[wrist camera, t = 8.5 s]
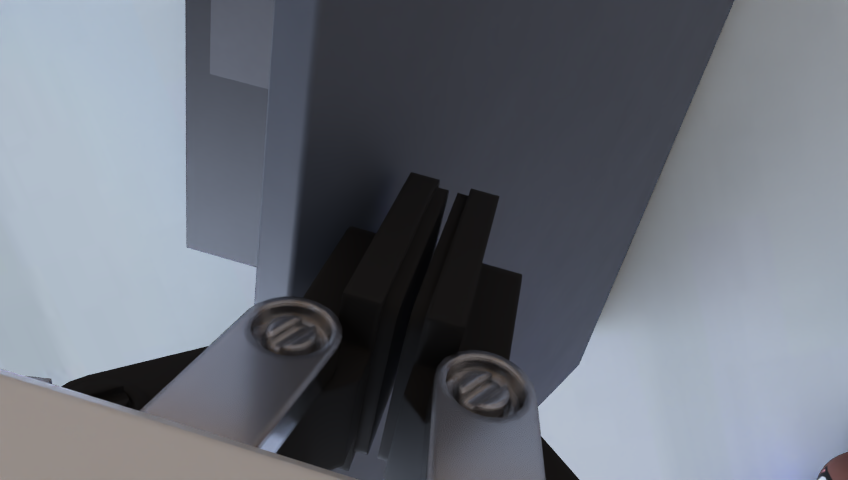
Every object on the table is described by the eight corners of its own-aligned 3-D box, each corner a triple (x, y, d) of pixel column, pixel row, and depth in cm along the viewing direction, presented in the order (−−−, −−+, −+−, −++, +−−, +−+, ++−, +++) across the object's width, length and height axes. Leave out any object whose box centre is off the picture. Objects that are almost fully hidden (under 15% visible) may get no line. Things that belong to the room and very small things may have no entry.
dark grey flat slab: (202, 231, 37) (185, 248, 36) (210, -533, 22) (180, -565, 20) (562, 334, 36) (562, 356, 34) (858, -412, 20) (882, -436, 18)
